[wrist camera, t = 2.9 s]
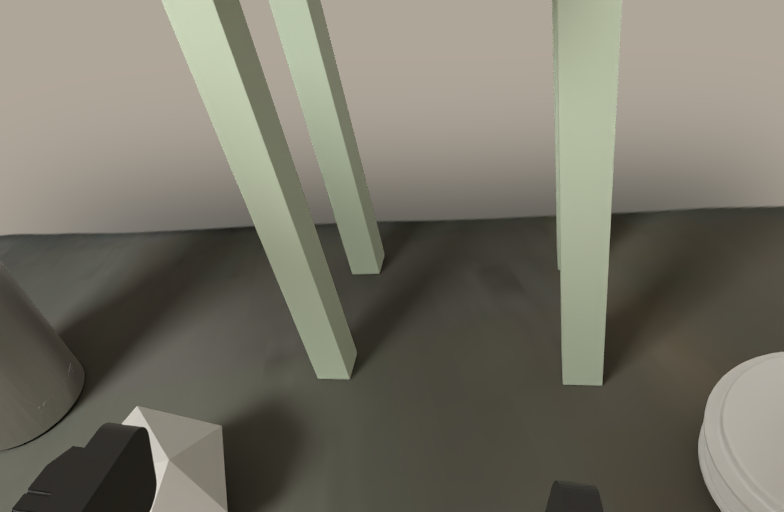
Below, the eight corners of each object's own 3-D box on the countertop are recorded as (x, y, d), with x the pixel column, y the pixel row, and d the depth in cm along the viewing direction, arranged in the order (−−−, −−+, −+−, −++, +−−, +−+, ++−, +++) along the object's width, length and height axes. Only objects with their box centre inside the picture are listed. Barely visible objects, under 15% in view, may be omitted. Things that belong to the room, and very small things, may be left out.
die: (181, 444, 43) (42, 434, 36) (261, 401, 40) (123, 380, 32) (185, 569, 39) (29, 585, 32) (275, 535, 35) (120, 545, 28)
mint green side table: (317, 378, 45) (114, -114, 25) (358, 255, 55) (237, -162, 35) (602, 385, 40) (633, -225, 20) (588, 249, 50) (599, -243, 30)
